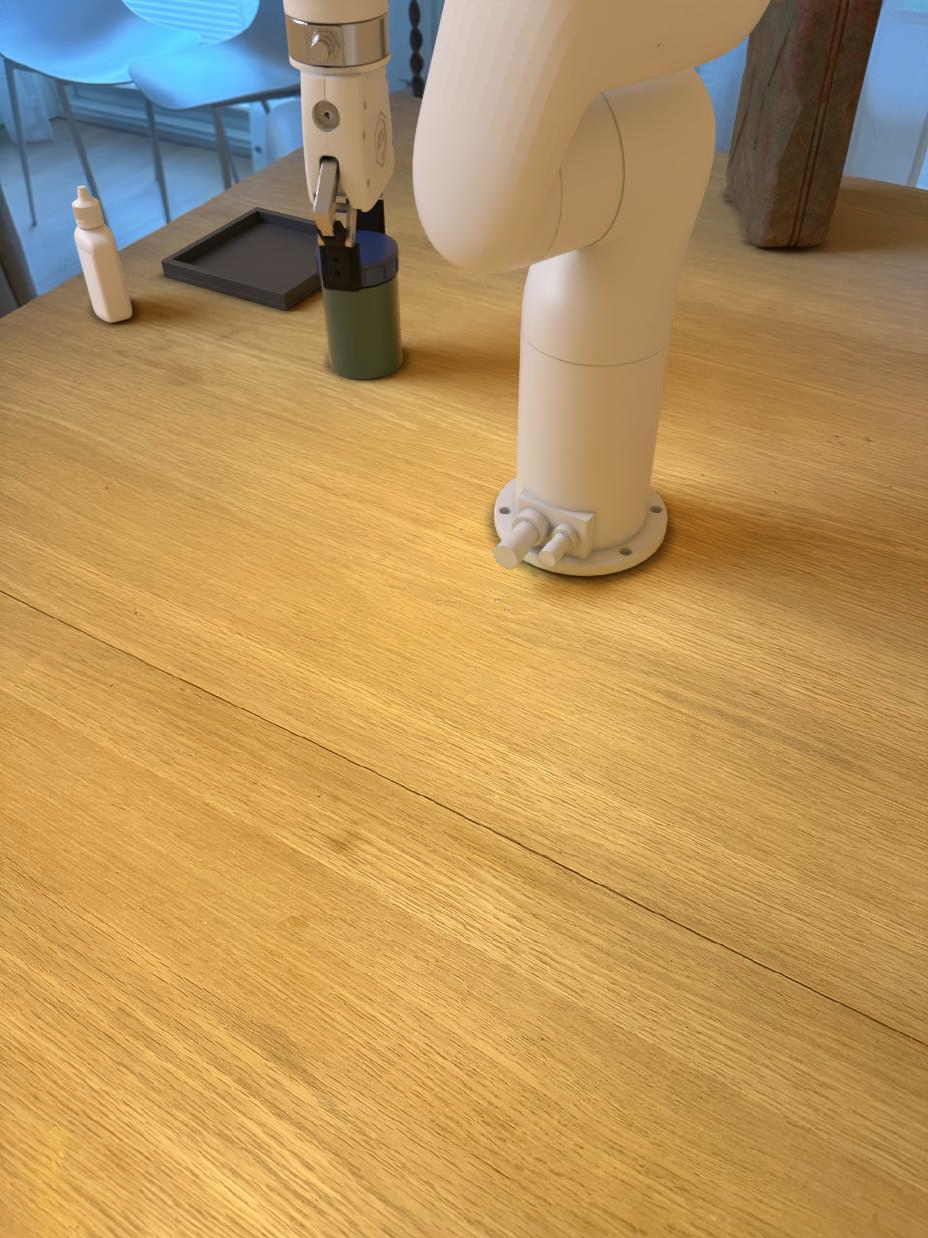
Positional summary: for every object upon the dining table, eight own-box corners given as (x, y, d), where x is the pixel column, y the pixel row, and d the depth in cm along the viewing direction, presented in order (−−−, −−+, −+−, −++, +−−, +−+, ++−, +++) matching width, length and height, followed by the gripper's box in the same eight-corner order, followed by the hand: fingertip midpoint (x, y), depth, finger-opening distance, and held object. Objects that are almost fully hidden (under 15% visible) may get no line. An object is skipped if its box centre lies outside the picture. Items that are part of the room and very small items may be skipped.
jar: (376, 386, 92) (368, 276, 85) (315, 368, 94) (301, 259, 87) (416, 353, 96) (411, 246, 89) (356, 336, 98) (347, 230, 92)
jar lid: (369, 294, 86) (368, 272, 84) (301, 276, 88) (299, 254, 87) (414, 261, 90) (413, 240, 89) (348, 245, 93) (346, 224, 91)
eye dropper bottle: (83, 325, 101) (48, 199, 92) (97, 297, 105) (64, 175, 96) (129, 324, 101) (98, 198, 92) (141, 297, 105) (112, 174, 96)
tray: (286, 310, 102) (283, 294, 101) (164, 276, 108) (160, 260, 107) (374, 250, 112) (373, 234, 111) (258, 221, 118) (256, 206, 117)
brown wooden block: (831, 254, 110) (896, -19, 93) (751, 255, 110) (801, -18, 93) (788, 184, 124) (838, -65, 107) (717, 186, 124) (755, -63, 107)
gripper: (359, 79, 71) (374, 319, 83) (413, 7, 83) (419, 226, 95) (252, 72, 71) (282, 311, 84) (321, 3, 84) (339, 220, 96)
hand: (355, 265), depth 89 cm, fingers open, 7 cm apart
